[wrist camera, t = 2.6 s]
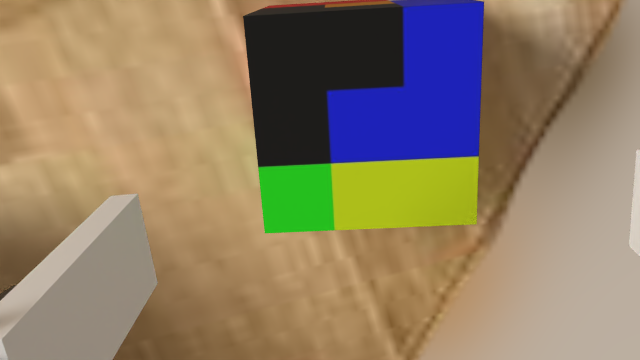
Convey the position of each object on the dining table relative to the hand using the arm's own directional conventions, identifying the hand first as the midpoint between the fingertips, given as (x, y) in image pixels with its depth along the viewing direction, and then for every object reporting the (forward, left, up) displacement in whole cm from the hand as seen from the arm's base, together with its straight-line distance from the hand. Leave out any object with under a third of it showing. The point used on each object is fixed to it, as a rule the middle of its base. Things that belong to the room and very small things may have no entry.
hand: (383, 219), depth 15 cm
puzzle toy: (0, 0, -21) cm, 21 cm away
